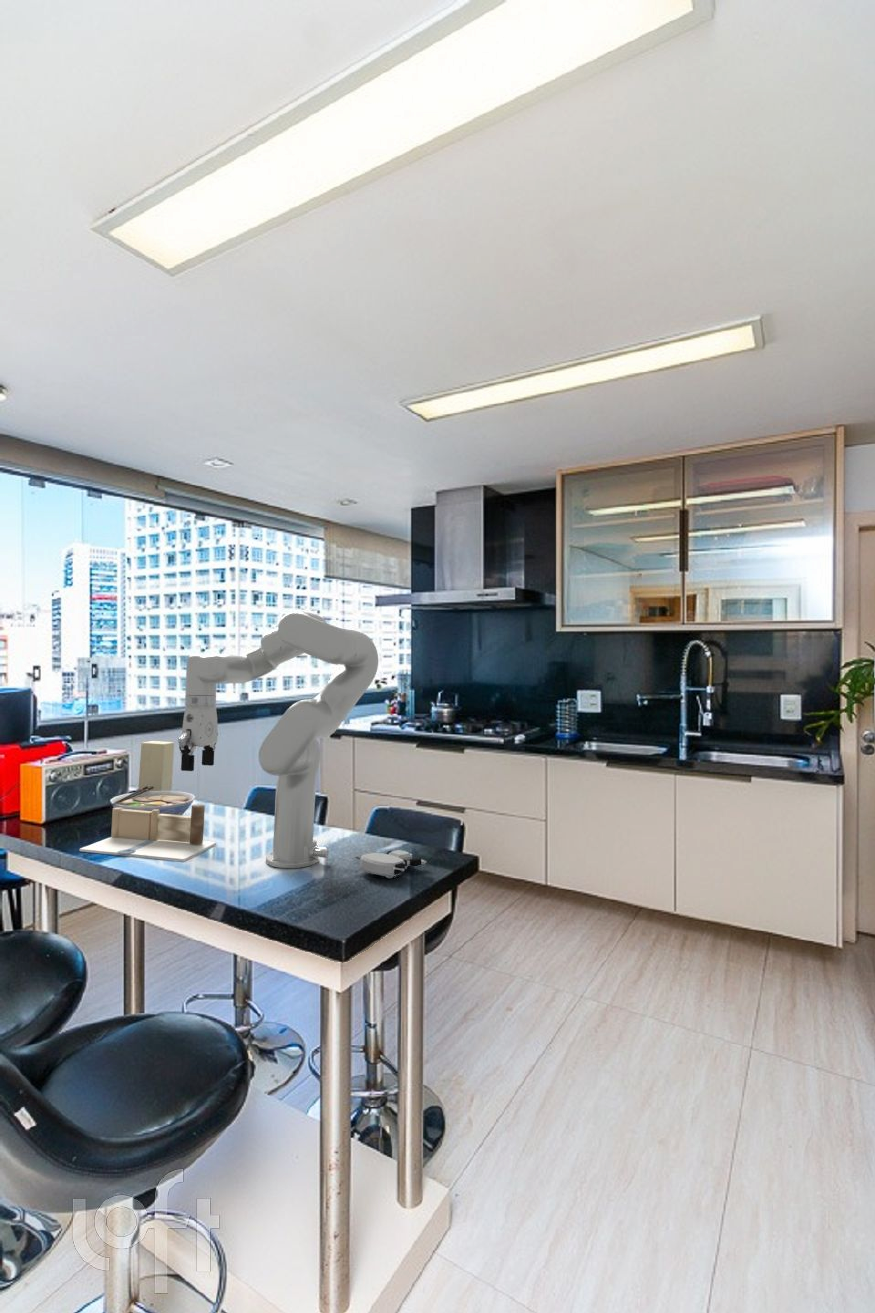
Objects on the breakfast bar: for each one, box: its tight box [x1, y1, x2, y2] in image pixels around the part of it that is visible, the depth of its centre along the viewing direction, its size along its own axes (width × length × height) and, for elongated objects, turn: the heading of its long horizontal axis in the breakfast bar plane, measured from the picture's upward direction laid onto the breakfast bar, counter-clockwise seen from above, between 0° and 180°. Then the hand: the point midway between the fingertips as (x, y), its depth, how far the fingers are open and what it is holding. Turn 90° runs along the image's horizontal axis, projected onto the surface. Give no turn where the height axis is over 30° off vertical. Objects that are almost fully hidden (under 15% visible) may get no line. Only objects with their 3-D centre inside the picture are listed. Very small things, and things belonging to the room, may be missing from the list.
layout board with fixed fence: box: [79, 807, 218, 862], centre depth 155 cm, size 28×16×8 cm, turn 81°
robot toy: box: [352, 849, 427, 877], centre depth 145 cm, size 12×4×15 cm
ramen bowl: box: [108, 786, 196, 816], centre depth 179 cm, size 25×23×8 cm
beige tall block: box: [137, 740, 175, 791], centre depth 200 cm, size 8×7×21 cm
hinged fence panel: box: [157, 803, 206, 844], centre depth 159 cm, size 12×3×10 cm, turn 81°
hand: (197, 767), depth 159 cm, fingers open, 9 cm apart
